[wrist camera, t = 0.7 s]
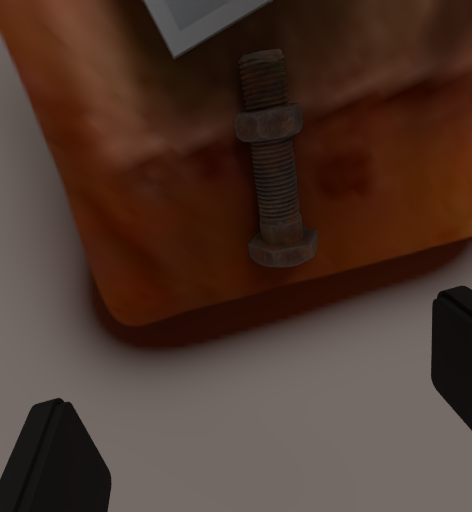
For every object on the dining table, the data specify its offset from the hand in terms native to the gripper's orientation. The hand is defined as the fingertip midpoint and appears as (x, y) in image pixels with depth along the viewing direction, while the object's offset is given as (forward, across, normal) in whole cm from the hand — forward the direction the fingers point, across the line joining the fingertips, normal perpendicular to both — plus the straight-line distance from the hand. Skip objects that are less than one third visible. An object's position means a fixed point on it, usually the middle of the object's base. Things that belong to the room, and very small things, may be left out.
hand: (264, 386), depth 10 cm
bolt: (+23, -6, 0) cm, 24 cm away
